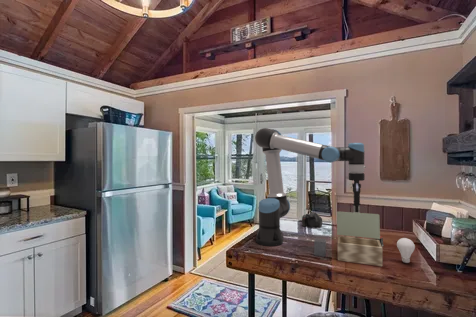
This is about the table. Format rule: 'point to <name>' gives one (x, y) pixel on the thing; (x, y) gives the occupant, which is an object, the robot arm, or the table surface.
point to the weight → (320, 247)
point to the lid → (358, 224)
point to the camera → (311, 220)
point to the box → (360, 250)
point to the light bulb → (405, 249)
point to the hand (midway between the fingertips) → (356, 217)
